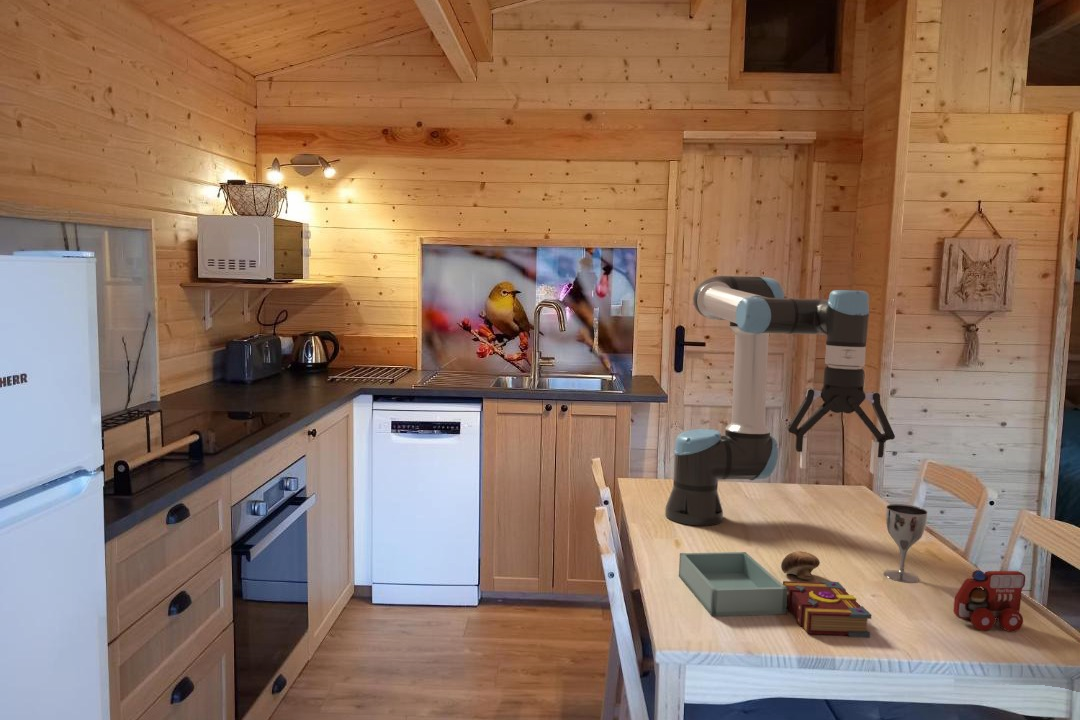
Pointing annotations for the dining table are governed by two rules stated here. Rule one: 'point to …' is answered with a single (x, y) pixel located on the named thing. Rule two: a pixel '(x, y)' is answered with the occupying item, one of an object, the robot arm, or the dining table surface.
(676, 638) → the dining table surface
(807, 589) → the decorative book
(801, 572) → the mushroom
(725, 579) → the open rectangular box
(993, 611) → the toy fire truck
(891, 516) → the wine glass
